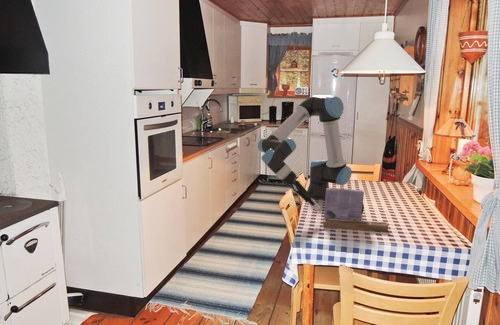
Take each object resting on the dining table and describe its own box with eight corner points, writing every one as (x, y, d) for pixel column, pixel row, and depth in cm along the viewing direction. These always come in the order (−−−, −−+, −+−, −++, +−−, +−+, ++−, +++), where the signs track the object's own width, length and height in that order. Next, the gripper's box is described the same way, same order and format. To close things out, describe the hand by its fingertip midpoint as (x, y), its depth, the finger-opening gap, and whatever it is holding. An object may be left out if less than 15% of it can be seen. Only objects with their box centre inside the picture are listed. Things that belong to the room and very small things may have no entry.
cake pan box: (362, 222, 189) (364, 189, 186) (363, 226, 184) (365, 191, 181) (323, 220, 192) (325, 187, 189) (324, 224, 187) (325, 189, 184)
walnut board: (323, 224, 187) (323, 218, 186) (385, 228, 182) (386, 222, 181) (323, 227, 182) (323, 221, 181) (387, 231, 177) (388, 225, 176)
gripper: (282, 177, 195) (312, 209, 196) (279, 182, 183) (312, 217, 183) (292, 167, 194) (323, 200, 194) (290, 172, 181) (324, 208, 181)
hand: (318, 208), depth 188 cm, fingers closed
